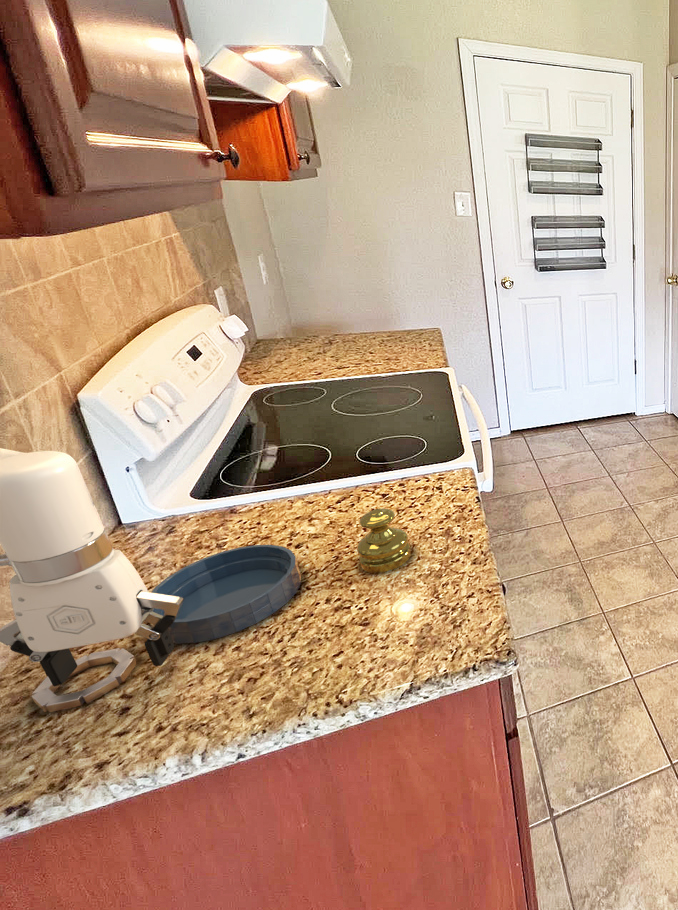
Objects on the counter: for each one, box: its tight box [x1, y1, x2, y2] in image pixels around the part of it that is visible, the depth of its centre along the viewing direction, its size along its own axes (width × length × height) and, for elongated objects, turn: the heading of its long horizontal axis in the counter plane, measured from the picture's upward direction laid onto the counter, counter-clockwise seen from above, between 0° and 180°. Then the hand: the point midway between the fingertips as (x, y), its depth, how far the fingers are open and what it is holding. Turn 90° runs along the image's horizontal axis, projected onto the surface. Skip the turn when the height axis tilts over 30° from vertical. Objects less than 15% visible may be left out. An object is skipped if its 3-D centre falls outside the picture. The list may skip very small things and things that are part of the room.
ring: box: [31, 647, 138, 713], centre depth 71 cm, size 8×8×2 cm
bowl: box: [149, 544, 302, 645], centre depth 85 cm, size 17×17×4 cm
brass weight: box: [356, 508, 412, 574], centre depth 94 cm, size 7×7×10 cm
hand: (116, 667), depth 72 cm, fingers open, 9 cm apart
